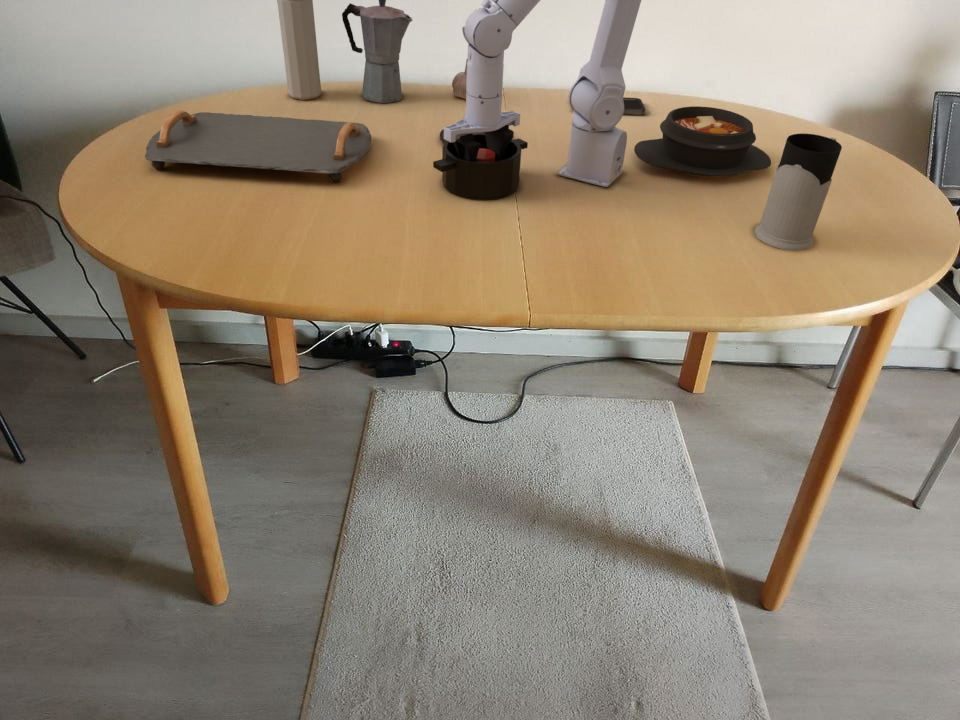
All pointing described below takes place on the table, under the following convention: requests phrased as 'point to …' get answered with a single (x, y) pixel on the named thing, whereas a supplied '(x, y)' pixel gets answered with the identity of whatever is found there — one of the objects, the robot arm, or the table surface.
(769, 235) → the glass holder
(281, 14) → the water bottle
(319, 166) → the serving tray
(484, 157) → the tin
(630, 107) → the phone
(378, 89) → the moka pot
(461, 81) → the garlic bulb
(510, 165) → the cooker
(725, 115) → the casserole
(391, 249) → the table surface
